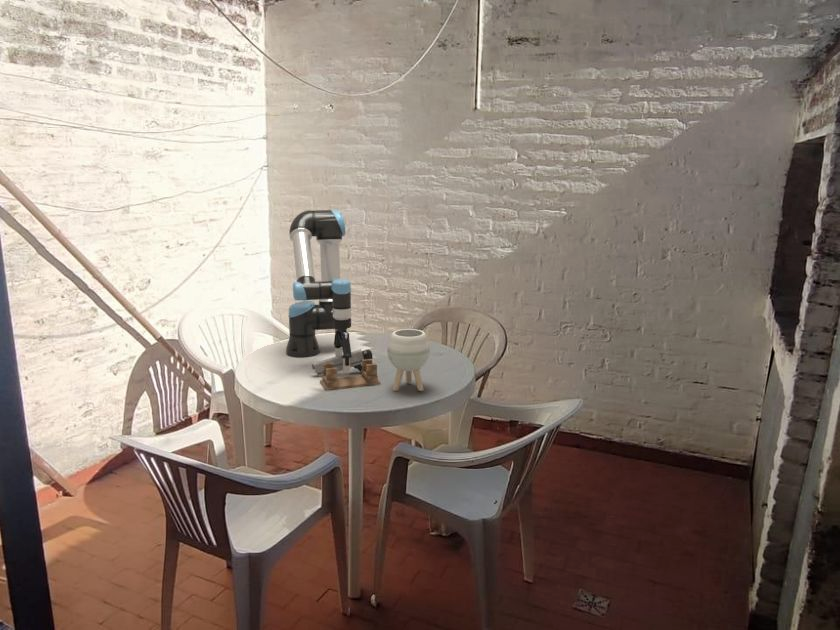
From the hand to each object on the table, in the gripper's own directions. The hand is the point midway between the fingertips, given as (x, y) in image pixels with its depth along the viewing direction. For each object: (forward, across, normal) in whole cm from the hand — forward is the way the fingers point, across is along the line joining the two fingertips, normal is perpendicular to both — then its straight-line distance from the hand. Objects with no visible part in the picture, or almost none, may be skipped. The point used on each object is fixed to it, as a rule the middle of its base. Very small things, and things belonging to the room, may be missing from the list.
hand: (342, 367), depth 263 cm
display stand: (+3, +12, 0) cm, 12 cm away
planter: (+3, +25, +20) cm, 32 cm away
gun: (+3, 0, 0) cm, 3 cm away
